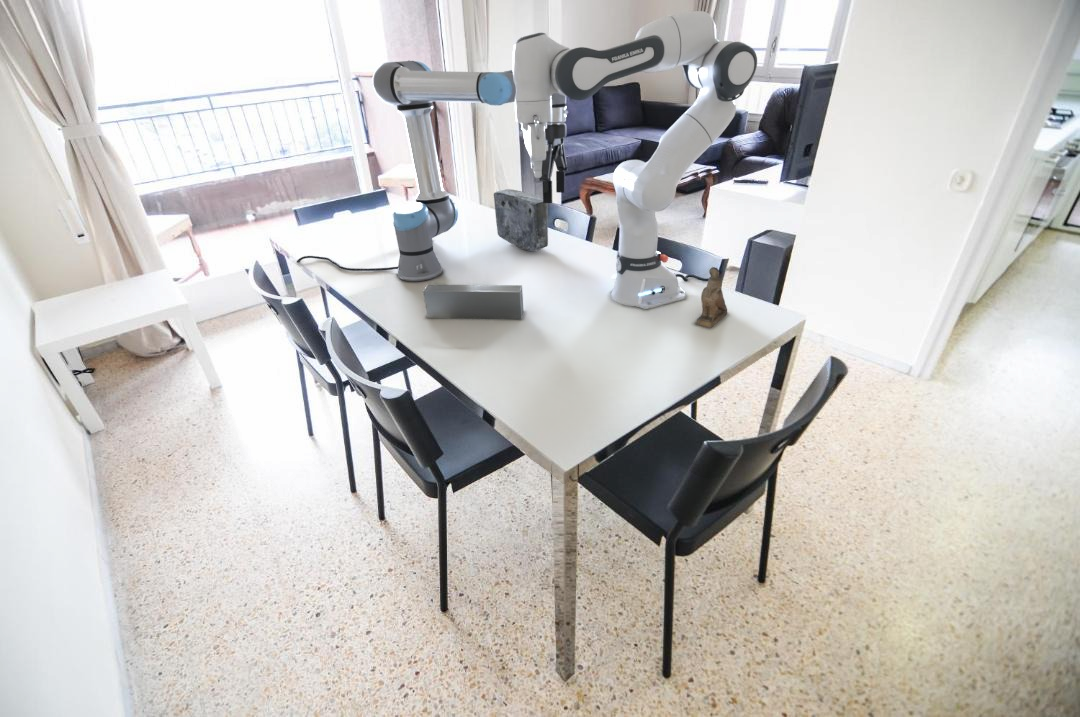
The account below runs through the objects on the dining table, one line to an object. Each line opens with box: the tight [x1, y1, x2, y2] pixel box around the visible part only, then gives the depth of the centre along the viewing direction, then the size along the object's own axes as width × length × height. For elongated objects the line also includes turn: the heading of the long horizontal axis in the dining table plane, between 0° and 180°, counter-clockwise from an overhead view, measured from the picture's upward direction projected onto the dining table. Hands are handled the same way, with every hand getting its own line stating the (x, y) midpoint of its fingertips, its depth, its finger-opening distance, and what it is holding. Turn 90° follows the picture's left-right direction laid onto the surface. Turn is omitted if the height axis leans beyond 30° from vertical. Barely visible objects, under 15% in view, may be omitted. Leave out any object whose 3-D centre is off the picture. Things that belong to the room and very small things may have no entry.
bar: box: [422, 283, 524, 321], centre depth 144 cm, size 28×5×9 cm, turn 84°
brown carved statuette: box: [695, 266, 728, 328], centre depth 135 cm, size 12×6×18 cm, turn 136°
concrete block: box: [493, 188, 549, 252], centre depth 191 cm, size 27×9×20 cm, turn 36°
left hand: (554, 197), depth 156 cm, fingers open, 13 cm apart
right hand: (536, 173), depth 127 cm, fingers open, 8 cm apart
